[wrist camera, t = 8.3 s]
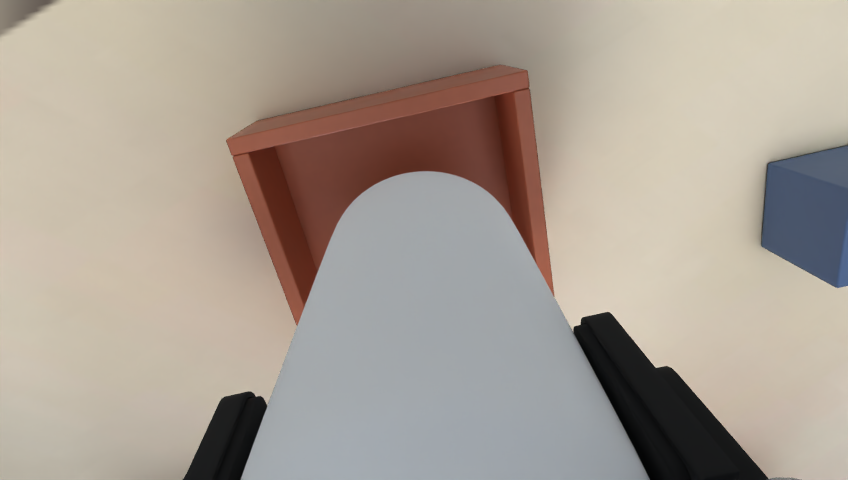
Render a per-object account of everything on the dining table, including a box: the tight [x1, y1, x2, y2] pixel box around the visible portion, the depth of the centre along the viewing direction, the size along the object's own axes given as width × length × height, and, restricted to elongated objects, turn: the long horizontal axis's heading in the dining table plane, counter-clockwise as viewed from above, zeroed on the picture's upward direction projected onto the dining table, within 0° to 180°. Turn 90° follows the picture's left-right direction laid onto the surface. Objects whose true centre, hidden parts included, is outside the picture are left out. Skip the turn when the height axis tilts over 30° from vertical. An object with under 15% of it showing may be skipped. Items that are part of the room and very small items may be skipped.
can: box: [241, 171, 650, 480], centre depth 11 cm, size 6×6×12 cm
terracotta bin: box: [226, 65, 554, 326], centre depth 20 cm, size 11×11×4 cm
